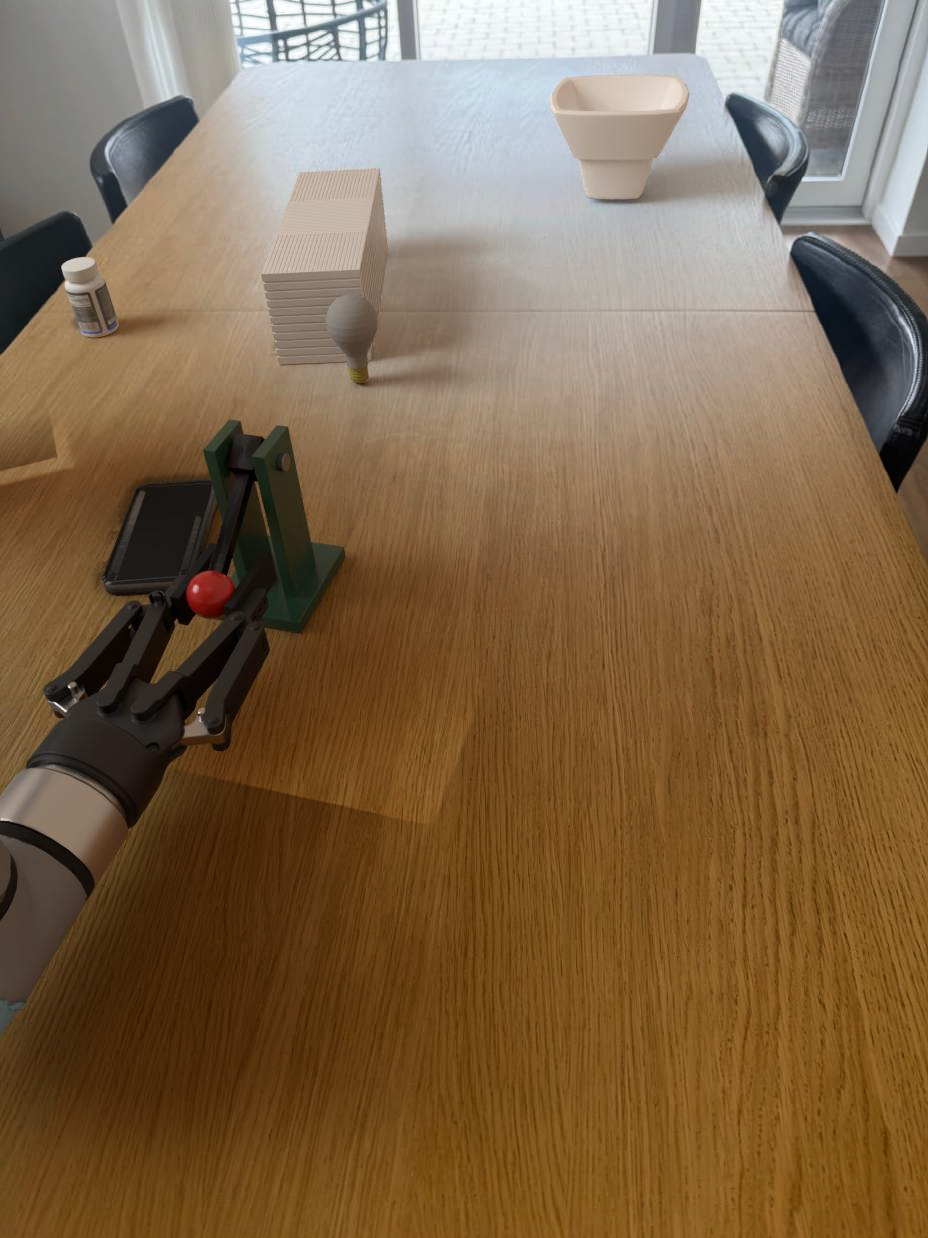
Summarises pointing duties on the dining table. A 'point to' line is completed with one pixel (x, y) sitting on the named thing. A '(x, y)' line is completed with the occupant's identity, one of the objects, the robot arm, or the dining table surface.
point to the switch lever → (226, 534)
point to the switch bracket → (275, 528)
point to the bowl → (617, 127)
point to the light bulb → (353, 332)
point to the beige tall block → (324, 259)
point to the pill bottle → (89, 297)
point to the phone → (160, 536)
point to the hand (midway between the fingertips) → (243, 560)
